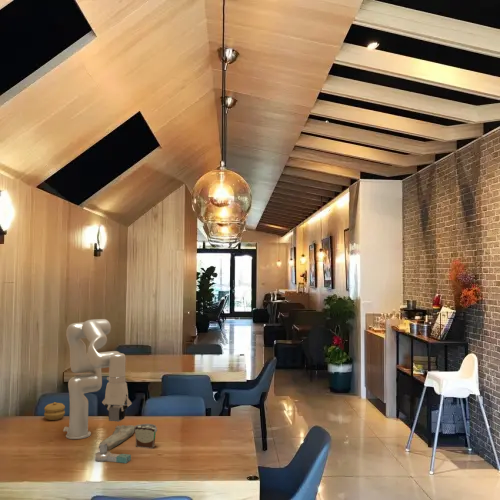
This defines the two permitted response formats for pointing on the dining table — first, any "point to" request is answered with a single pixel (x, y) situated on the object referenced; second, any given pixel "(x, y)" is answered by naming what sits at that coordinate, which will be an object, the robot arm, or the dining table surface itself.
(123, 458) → the ratchet
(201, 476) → the dining table surface
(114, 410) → the brushed metal cube
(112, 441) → the elongated rock
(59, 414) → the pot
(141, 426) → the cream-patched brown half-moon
